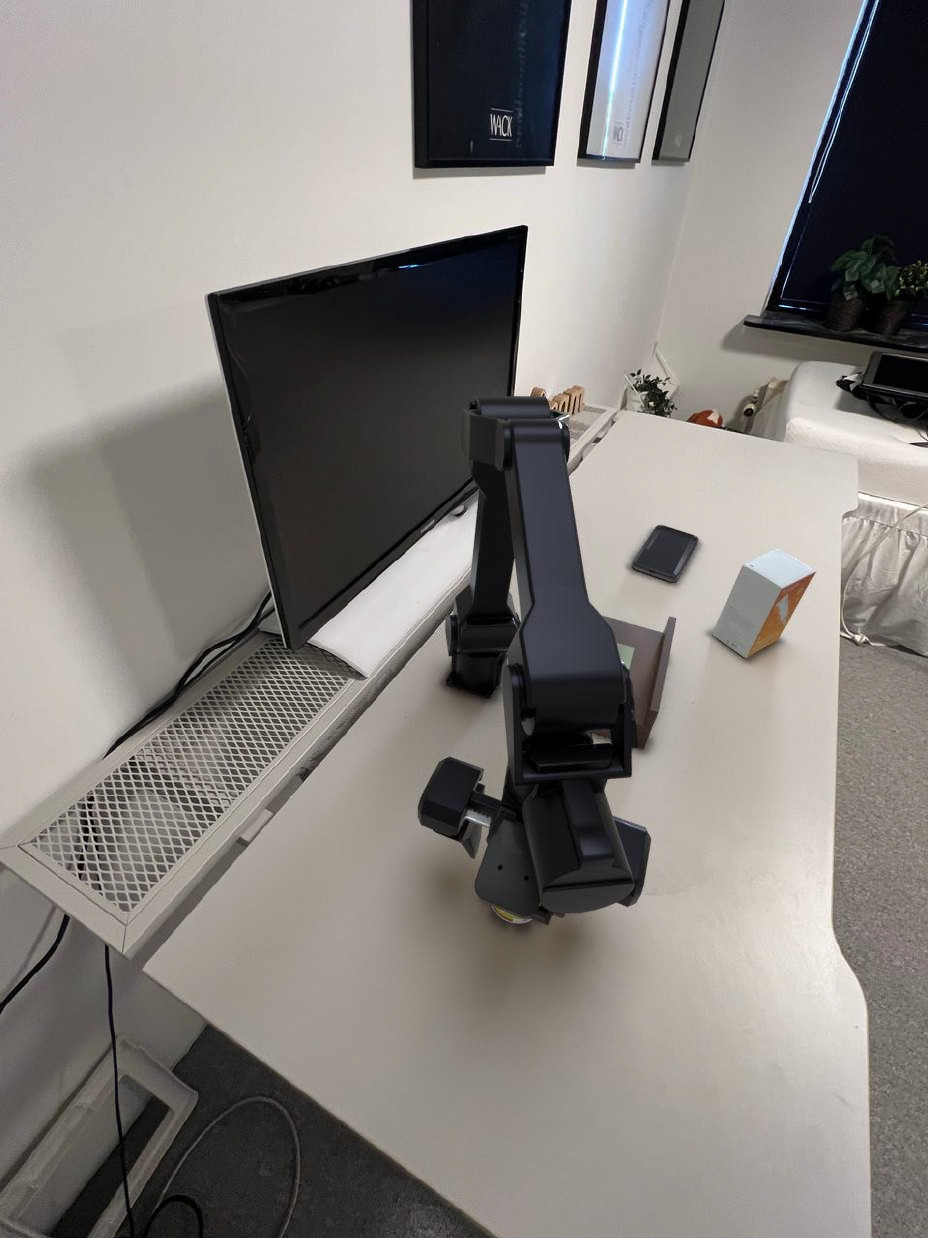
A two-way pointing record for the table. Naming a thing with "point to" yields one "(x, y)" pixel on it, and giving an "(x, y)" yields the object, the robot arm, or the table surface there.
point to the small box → (762, 601)
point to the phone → (665, 553)
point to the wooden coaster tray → (644, 669)
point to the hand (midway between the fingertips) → (520, 872)
